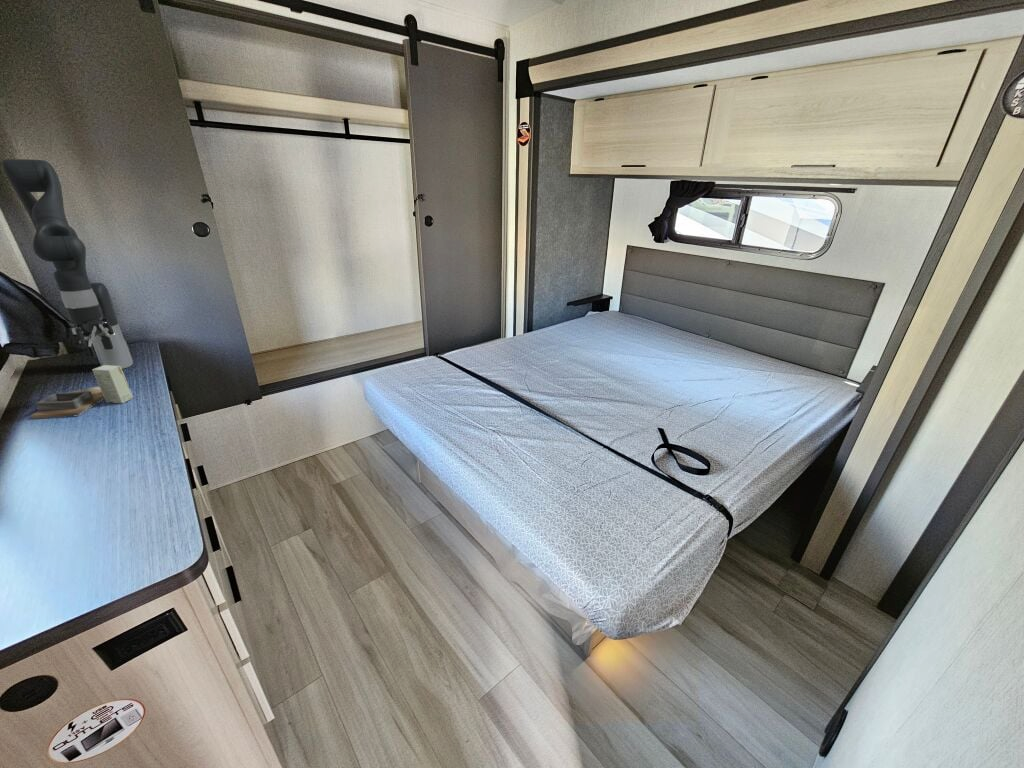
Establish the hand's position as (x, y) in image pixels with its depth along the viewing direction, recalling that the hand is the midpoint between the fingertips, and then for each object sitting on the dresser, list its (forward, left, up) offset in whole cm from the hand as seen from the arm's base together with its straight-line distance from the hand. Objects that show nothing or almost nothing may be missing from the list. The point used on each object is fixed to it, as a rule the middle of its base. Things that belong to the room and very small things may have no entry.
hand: (100, 353), depth 135 cm
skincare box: (0, 0, -17) cm, 17 cm away
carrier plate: (+2, -11, -17) cm, 20 cm away
